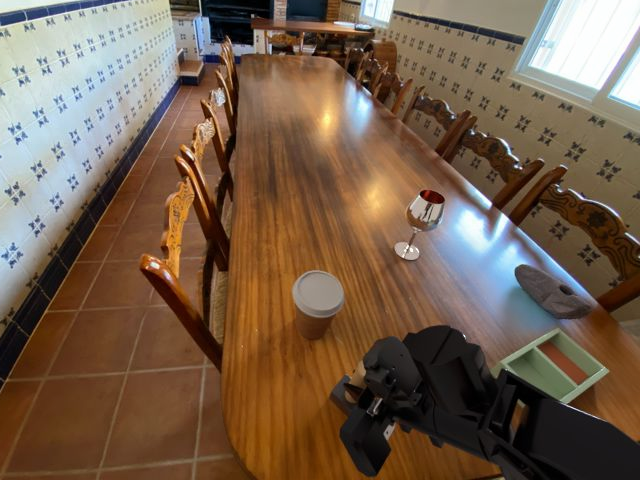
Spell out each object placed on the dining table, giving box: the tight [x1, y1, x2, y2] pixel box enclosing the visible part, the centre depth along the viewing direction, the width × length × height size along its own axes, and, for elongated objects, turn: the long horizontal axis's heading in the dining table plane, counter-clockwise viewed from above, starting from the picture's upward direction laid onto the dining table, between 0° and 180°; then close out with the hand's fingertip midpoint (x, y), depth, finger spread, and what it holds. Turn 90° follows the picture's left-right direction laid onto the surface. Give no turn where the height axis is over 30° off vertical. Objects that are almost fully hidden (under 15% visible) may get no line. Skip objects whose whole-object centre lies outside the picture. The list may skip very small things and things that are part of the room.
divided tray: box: [489, 327, 610, 409], centre depth 54 cm, size 9×17×4 cm, turn 114°
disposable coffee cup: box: [291, 269, 346, 340], centre depth 56 cm, size 10×10×12 cm
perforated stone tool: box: [514, 263, 594, 320], centre depth 67 cm, size 15×5×7 cm, turn 18°
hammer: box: [328, 359, 367, 418], centre depth 46 cm, size 6×4×13 cm
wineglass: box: [393, 188, 447, 261], centre depth 72 cm, size 8×8×18 cm
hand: (349, 379), depth 46 cm, fingers closed on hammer, 2 cm apart
